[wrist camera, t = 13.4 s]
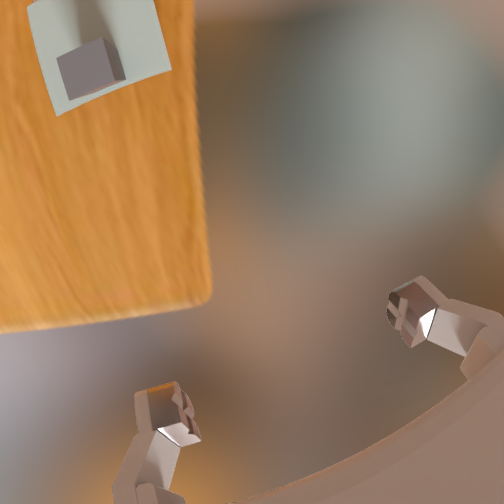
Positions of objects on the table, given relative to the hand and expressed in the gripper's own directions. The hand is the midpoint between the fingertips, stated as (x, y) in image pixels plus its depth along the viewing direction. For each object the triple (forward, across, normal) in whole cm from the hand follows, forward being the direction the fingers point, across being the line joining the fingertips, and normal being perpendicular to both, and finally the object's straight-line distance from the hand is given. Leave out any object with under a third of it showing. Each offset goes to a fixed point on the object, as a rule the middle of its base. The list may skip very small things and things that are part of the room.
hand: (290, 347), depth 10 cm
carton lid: (+23, +5, -15) cm, 28 cm away
